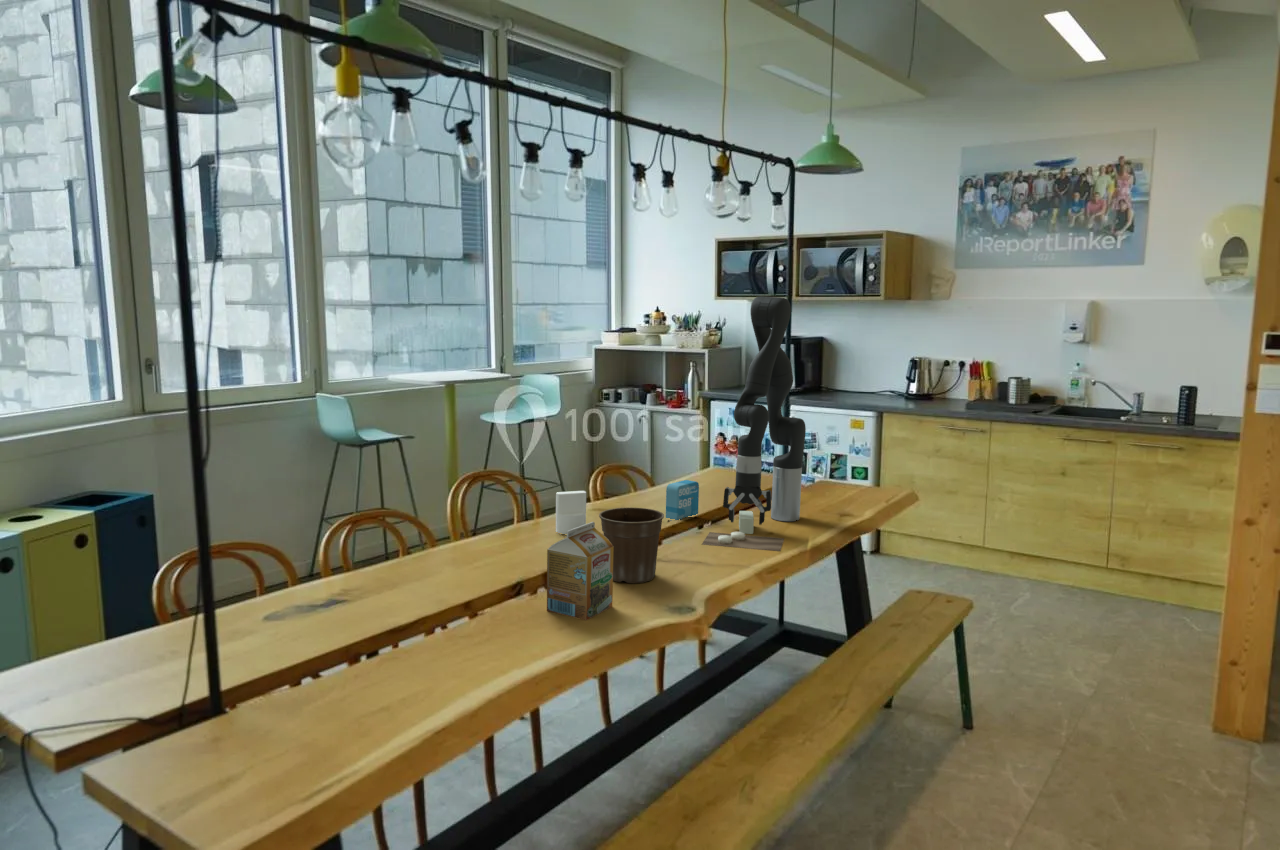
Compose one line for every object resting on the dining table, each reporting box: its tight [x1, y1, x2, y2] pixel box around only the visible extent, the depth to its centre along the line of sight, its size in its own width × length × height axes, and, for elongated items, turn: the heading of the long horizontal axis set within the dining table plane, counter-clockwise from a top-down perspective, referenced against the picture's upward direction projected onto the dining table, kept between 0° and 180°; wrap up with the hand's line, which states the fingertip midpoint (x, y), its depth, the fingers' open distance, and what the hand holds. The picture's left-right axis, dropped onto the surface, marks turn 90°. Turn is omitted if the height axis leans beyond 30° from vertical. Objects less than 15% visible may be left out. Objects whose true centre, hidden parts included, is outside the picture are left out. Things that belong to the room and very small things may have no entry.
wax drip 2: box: [730, 531, 746, 540], centre depth 250 cm, size 4×4×2 cm
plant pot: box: [598, 507, 665, 584], centre depth 216 cm, size 16×16×16 cm
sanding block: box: [738, 510, 755, 535], centre depth 261 cm, size 10×7×6 cm
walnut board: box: [701, 531, 785, 552], centre depth 247 cm, size 14×22×2 cm, turn 76°
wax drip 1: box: [718, 535, 732, 544], centre depth 246 cm, size 4×4×2 cm
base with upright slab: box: [555, 490, 587, 534], centre depth 259 cm, size 9×9×12 cm
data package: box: [665, 479, 700, 520], centre depth 277 cm, size 12×4×12 cm, turn 141°
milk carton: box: [546, 521, 614, 621], centre depth 192 cm, size 11×11×19 cm
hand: (746, 523), depth 260 cm, fingers open, 8 cm apart
